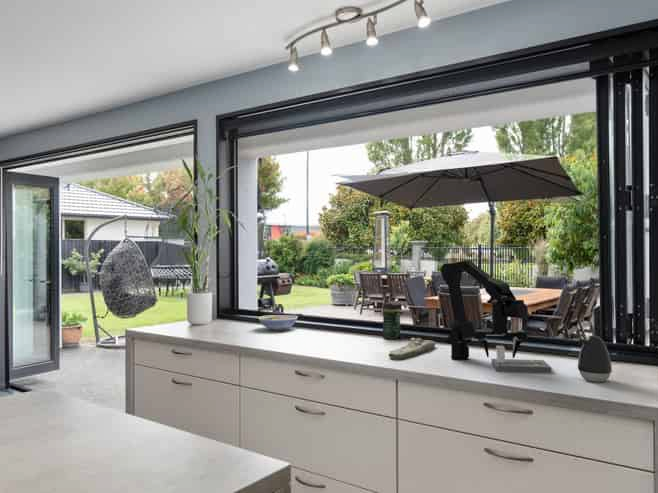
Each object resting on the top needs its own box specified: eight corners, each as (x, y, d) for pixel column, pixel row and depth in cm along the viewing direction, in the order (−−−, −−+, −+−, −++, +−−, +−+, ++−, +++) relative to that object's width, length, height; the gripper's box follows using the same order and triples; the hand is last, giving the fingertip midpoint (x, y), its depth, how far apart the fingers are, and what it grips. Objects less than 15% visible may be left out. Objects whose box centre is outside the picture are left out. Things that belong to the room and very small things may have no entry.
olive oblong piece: (382, 362, 209) (403, 366, 203) (382, 349, 209) (403, 353, 203) (420, 344, 237) (440, 347, 231) (420, 333, 237) (440, 336, 231)
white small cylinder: (497, 362, 188) (497, 347, 188) (496, 360, 192) (496, 345, 192) (505, 363, 187) (504, 347, 187) (503, 360, 191) (503, 345, 191)
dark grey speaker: (571, 377, 174) (570, 333, 175) (599, 376, 175) (598, 332, 175) (588, 385, 164) (587, 338, 164) (618, 383, 165) (618, 337, 165)
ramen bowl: (251, 332, 280) (250, 318, 280) (263, 326, 302) (263, 312, 302) (295, 333, 275) (294, 318, 276) (303, 326, 298) (303, 313, 298)
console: (496, 371, 184) (496, 365, 184) (491, 364, 196) (491, 358, 196) (551, 372, 181) (551, 366, 181) (543, 365, 193) (543, 359, 193)
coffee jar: (394, 340, 250) (393, 302, 250) (380, 338, 255) (379, 302, 255) (403, 337, 258) (402, 301, 258) (390, 335, 263) (389, 300, 263)
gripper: (521, 313, 196) (522, 353, 196) (472, 313, 199) (472, 352, 199) (527, 317, 185) (528, 359, 185) (475, 317, 188) (475, 358, 188)
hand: (500, 357), depth 190 cm, fingers open, 9 cm apart
